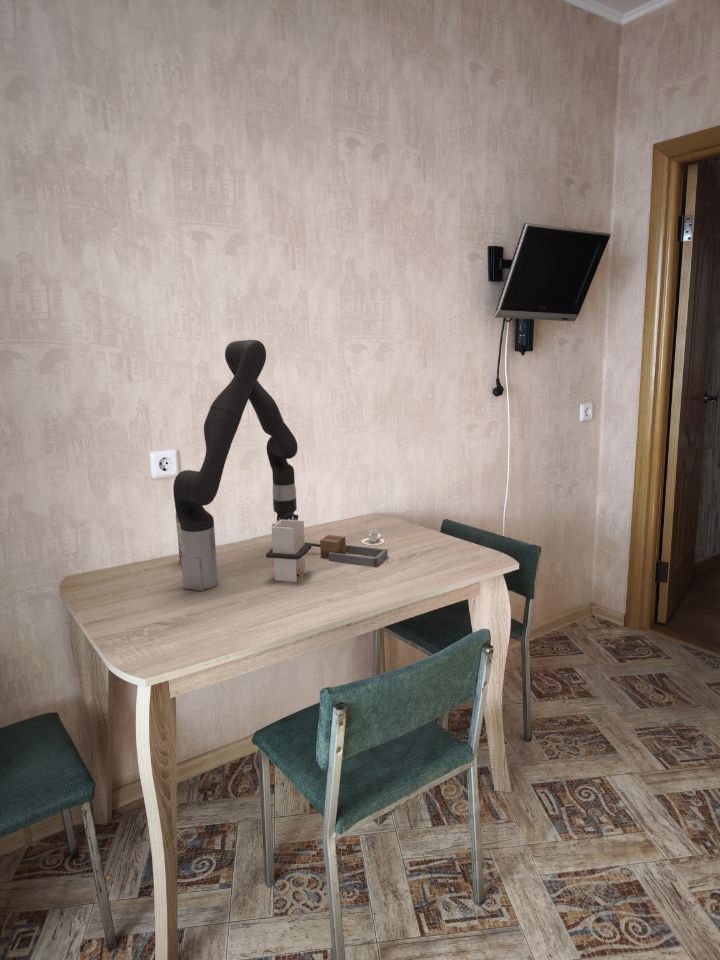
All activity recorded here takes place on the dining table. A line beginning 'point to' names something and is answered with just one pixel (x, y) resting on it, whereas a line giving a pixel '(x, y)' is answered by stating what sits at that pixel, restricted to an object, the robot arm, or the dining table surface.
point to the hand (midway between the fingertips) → (286, 547)
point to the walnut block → (331, 545)
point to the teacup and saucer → (373, 537)
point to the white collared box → (288, 550)
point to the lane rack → (360, 560)
